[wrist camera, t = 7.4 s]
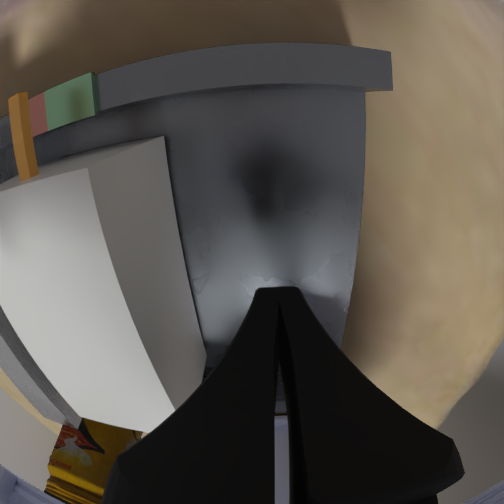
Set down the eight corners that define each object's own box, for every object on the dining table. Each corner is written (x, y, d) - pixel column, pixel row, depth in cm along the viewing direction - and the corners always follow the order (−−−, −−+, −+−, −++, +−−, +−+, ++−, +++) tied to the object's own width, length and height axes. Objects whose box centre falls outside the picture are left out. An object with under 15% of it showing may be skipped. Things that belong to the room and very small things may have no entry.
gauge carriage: (206, 356, 15) (191, 438, 10) (110, 349, 15) (79, 416, 10) (157, 69, 8) (74, 52, 4) (35, 110, 8) (-53, 134, 4)
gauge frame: (332, 364, 16) (348, 450, 11) (76, 354, 17) (44, 417, 12) (356, 61, 8) (443, 32, 3) (-5, 133, 10) (-86, 167, 4)
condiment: (80, 356, 18) (21, 490, 7) (183, 400, 19) (156, 545, 9) (81, 395, 21) (42, 498, 10) (163, 430, 22) (140, 538, 12)
